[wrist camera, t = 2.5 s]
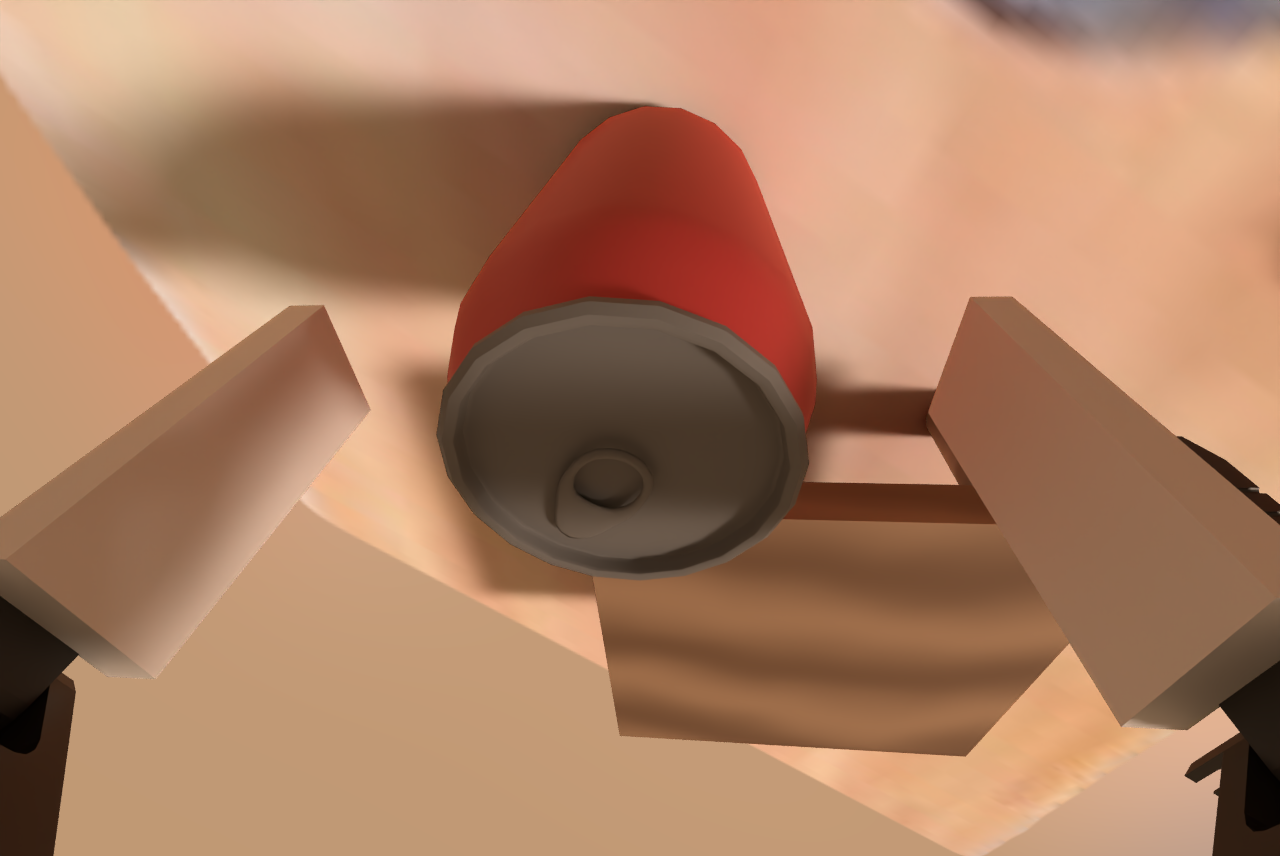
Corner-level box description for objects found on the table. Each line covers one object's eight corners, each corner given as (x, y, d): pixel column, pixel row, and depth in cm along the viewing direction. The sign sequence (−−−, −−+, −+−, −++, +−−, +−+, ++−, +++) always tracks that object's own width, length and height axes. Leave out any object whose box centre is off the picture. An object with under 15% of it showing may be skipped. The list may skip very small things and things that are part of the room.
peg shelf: (611, 373, 21) (581, 514, 15) (1031, 374, 20) (1173, 528, 14) (632, 599, 31) (619, 735, 25) (911, 609, 30) (965, 756, 24)
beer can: (527, 253, 18) (360, 515, 9) (614, 51, 14) (478, 140, 5) (687, 340, 20) (686, 636, 11) (803, 180, 16) (958, 423, 7)
